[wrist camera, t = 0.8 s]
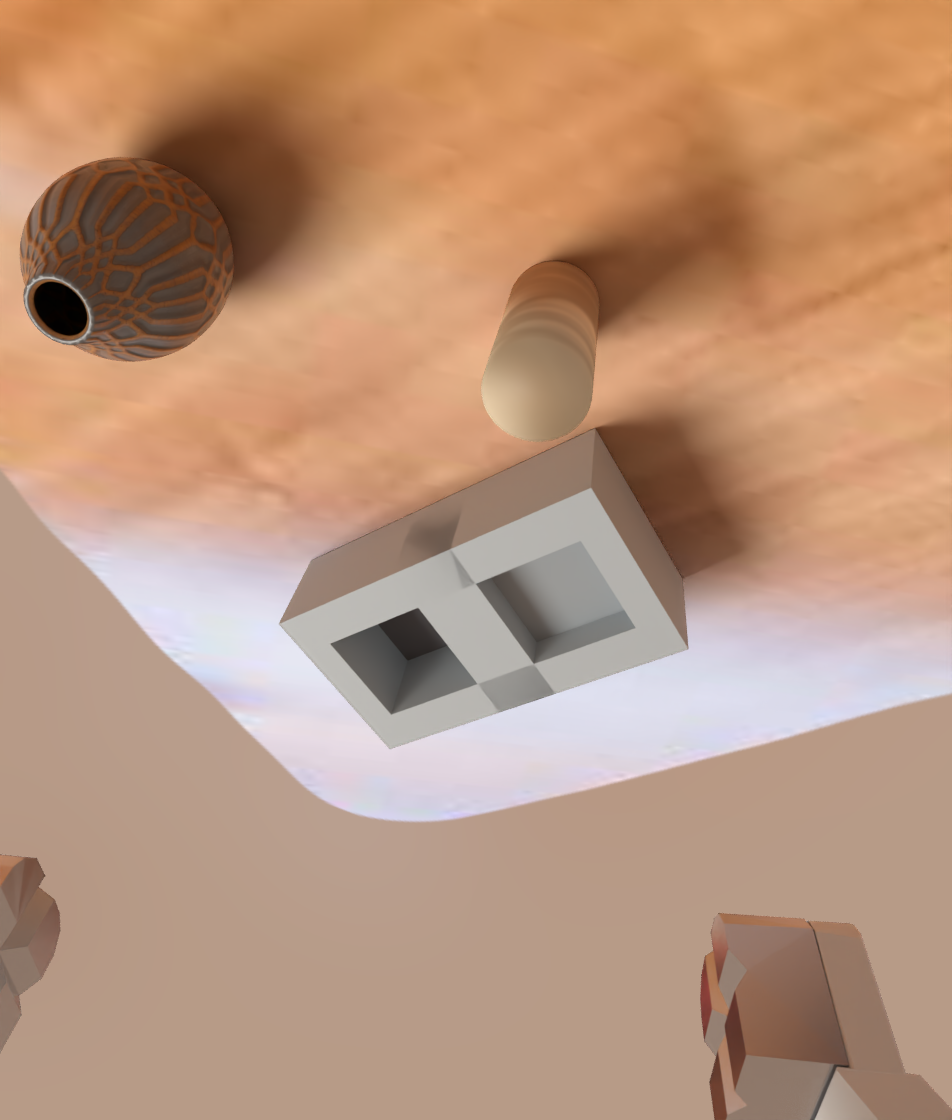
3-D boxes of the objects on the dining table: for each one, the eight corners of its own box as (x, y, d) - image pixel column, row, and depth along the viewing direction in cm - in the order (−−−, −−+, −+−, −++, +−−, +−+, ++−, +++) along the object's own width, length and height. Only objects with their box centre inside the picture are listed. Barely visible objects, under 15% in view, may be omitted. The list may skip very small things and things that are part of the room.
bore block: (595, 428, 37) (591, 487, 33) (682, 579, 41) (688, 649, 37) (310, 560, 44) (278, 624, 40) (409, 680, 48) (389, 749, 44)
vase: (207, 350, 38) (110, 445, 31) (64, 242, 36) (-74, 318, 29) (287, 226, 34) (198, 302, 27) (133, 99, 32) (-5, 146, 25)
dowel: (572, 243, 33) (558, 318, 27) (615, 324, 35) (612, 413, 28) (492, 289, 34) (460, 370, 28) (536, 364, 36) (516, 458, 30)
